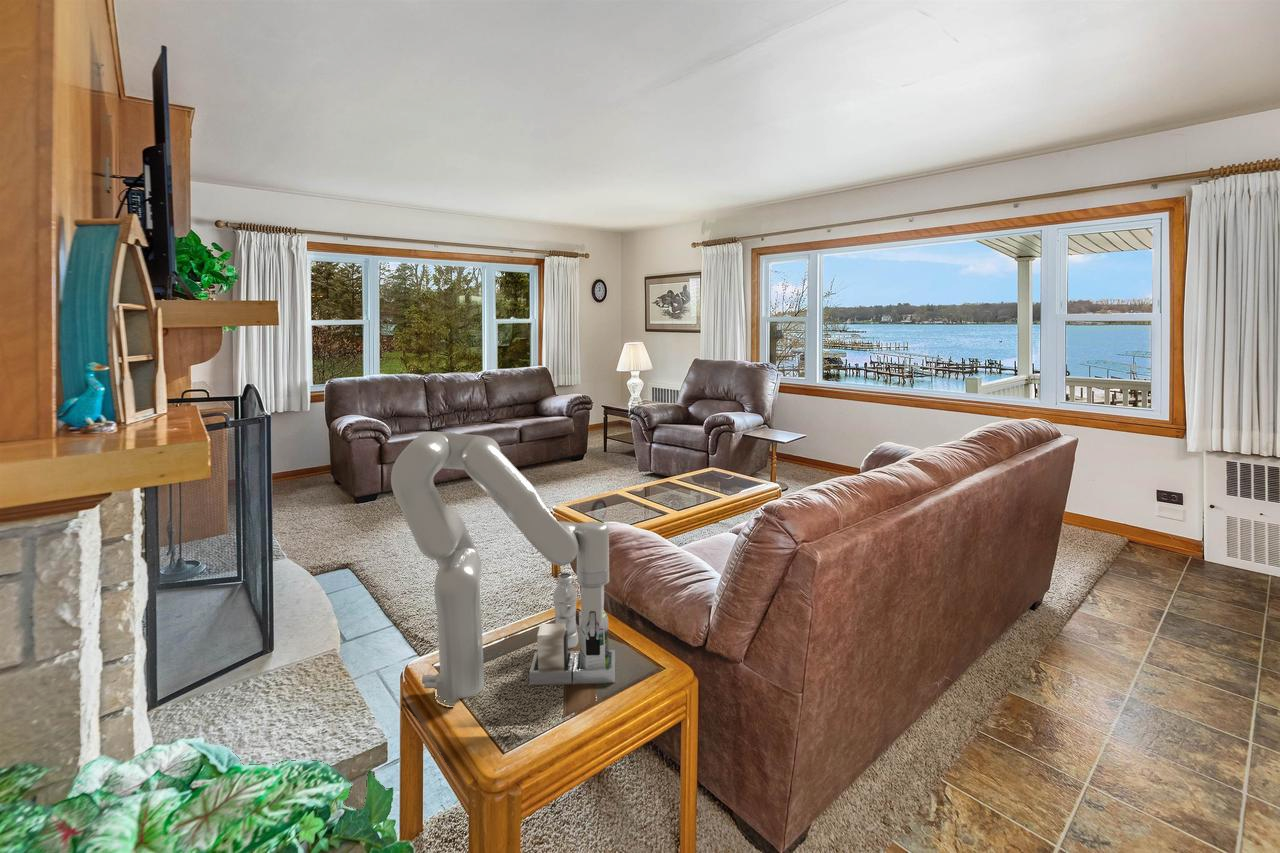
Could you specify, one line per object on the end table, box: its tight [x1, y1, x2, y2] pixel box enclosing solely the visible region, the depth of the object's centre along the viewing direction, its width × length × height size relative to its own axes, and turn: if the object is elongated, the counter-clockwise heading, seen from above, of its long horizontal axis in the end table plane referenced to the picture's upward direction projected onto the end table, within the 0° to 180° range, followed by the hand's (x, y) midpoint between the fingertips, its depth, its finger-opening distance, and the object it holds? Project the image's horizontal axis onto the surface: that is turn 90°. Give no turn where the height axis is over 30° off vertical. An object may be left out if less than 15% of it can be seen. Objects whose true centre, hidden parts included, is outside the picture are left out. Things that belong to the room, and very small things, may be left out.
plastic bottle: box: [552, 572, 580, 650], centre depth 160 cm, size 6×7×20 cm
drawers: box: [528, 649, 617, 686], centre depth 146 cm, size 20×10×4 cm, turn 92°
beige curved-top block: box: [536, 623, 569, 670], centre depth 145 cm, size 6×6×11 cm
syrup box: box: [578, 609, 610, 669], centre depth 145 cm, size 6×6×14 cm
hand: (593, 644), depth 145 cm, fingers open, 9 cm apart
